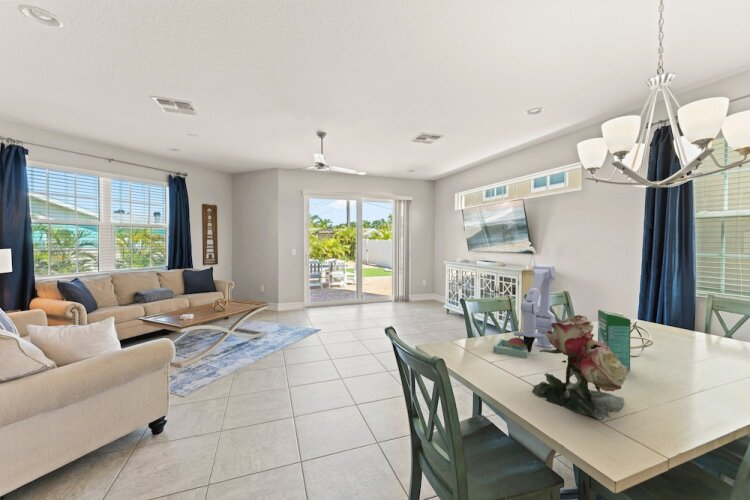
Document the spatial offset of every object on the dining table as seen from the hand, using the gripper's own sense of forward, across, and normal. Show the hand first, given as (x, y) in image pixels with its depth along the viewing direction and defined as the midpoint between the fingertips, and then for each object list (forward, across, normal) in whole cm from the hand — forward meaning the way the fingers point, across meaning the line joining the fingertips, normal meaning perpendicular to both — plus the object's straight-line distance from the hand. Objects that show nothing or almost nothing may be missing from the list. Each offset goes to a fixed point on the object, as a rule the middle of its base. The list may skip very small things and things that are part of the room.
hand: (529, 351), depth 167 cm
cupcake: (+1, -6, 0) cm, 6 cm away
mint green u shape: (+1, -7, 0) cm, 7 cm away
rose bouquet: (+1, +24, -41) cm, 47 cm away
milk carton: (+1, +35, +1) cm, 35 cm away
